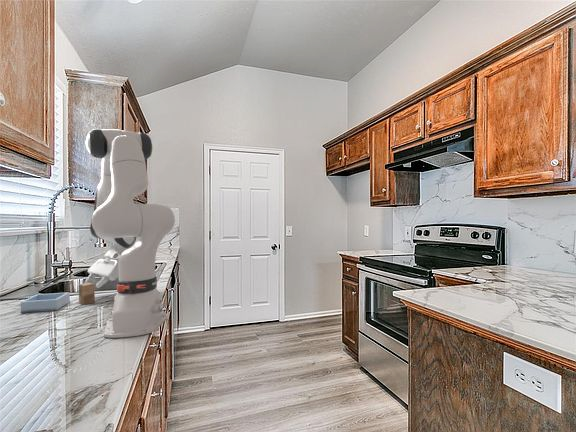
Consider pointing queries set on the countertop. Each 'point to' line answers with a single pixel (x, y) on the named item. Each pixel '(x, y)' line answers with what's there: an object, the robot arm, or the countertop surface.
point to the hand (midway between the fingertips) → (91, 285)
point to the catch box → (45, 302)
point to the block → (86, 293)
